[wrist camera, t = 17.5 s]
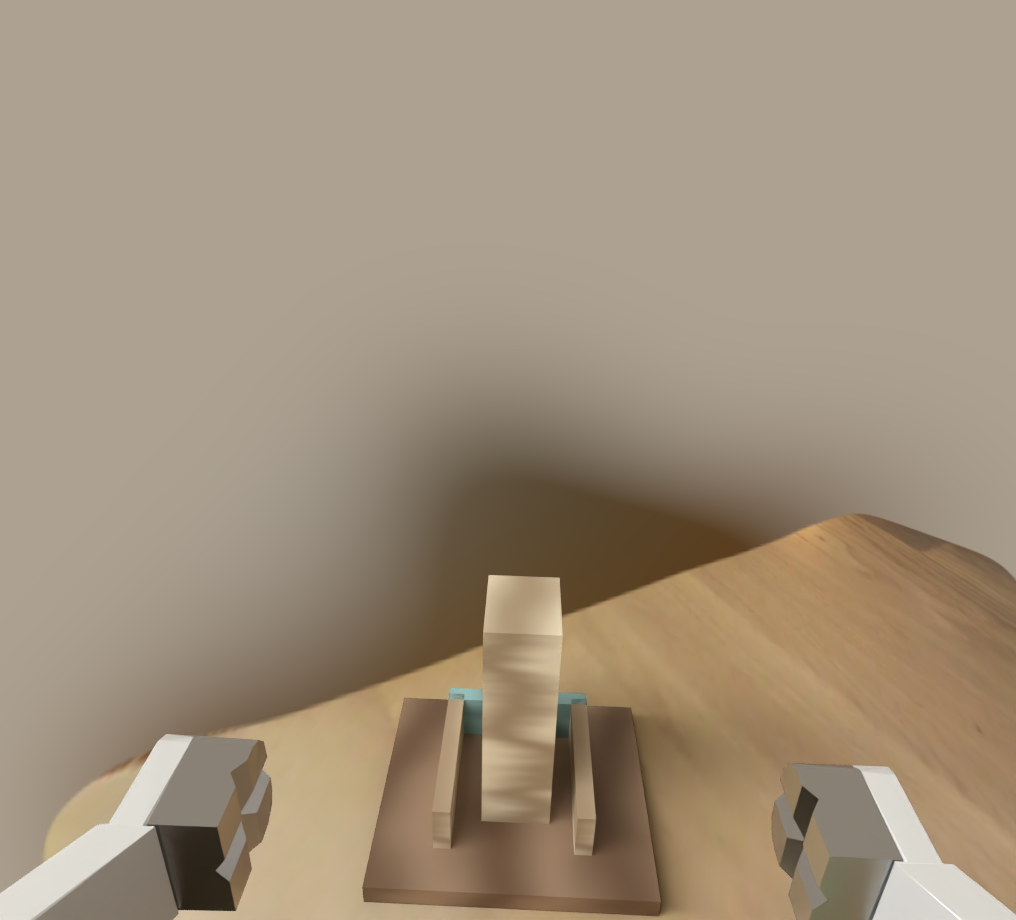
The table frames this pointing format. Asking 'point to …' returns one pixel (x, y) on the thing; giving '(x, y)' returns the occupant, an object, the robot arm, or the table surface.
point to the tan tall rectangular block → (520, 697)
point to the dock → (513, 846)
